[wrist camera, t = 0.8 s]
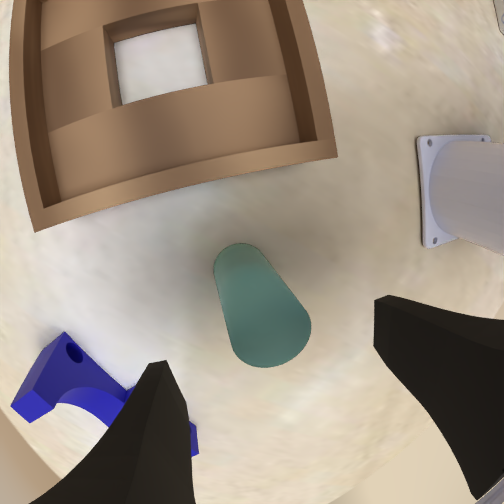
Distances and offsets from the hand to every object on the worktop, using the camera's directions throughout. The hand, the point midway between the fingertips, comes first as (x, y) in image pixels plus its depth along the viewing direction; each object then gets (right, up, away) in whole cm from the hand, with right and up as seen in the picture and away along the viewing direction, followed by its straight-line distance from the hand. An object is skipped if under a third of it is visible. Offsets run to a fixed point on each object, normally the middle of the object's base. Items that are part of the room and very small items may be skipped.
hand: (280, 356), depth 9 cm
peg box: (-6, +13, +4) cm, 15 cm away
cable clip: (-10, -7, +9) cm, 15 cm away
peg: (-2, +2, +8) cm, 8 cm away
